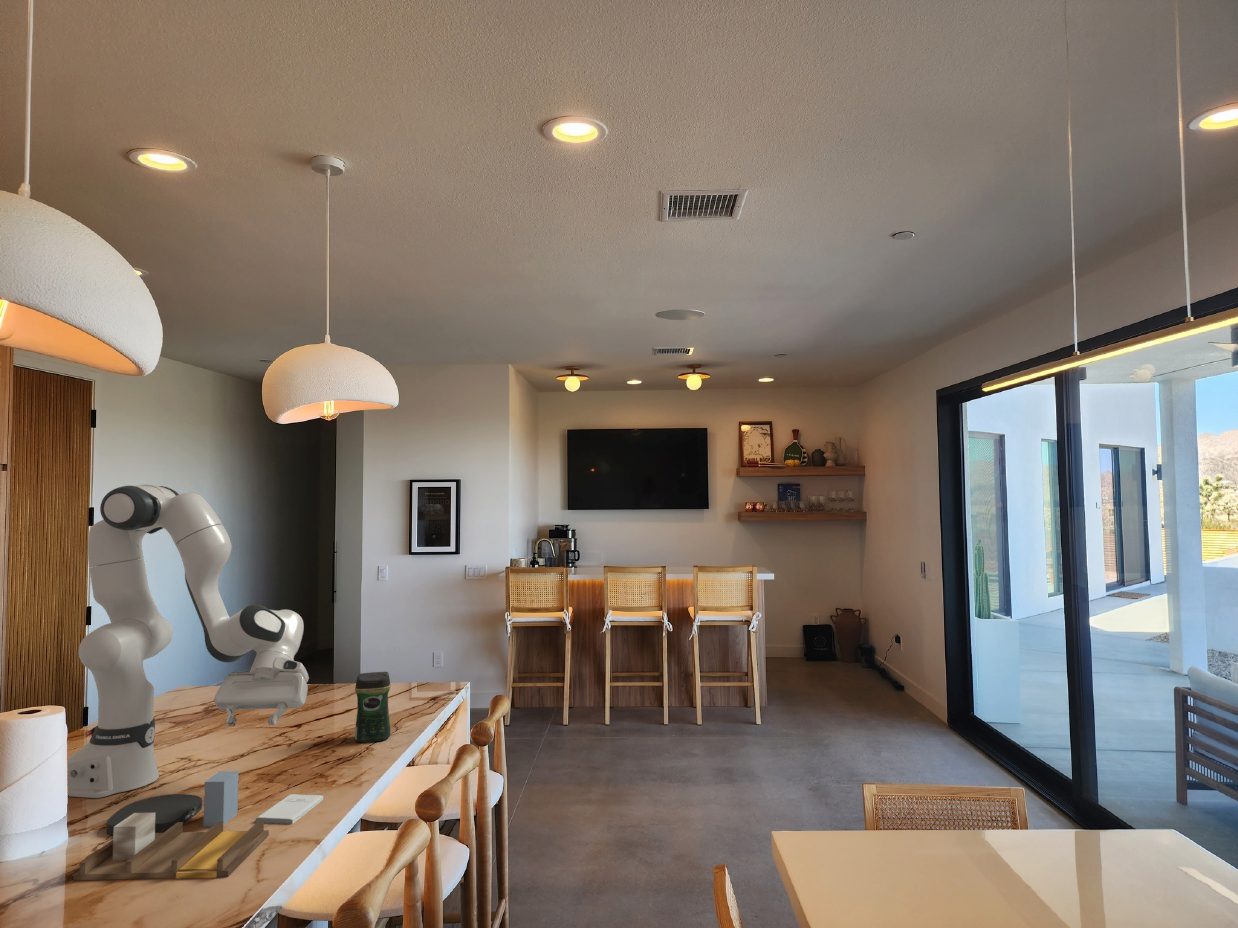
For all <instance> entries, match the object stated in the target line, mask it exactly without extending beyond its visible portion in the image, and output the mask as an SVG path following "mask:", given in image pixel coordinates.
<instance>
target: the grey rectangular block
mask: <svg viewBox="0 0 1238 928" xmlns="http://www.w3.org/2000/svg"><path fill="white" fill-rule="evenodd" d="M203 795H204V797H203V825H202V826H203V827H212V826H213V825H215V824H216V823H217V822H218V821H223V827H224V826H225V825H226V824H227V823H228V822H229V821H231V820H232V819H233V818H234V817H236V816H237V815H238V810H239V809H238V808H239V807H238V803H239V770H229V771H228V770H222V771H218V772H216V773H215V774H214V775H212V776H211V777H209V778H208V779H207V780H206V781H204V792H203Z"/></svg>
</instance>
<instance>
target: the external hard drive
mask: <svg viewBox="0 0 1238 928" xmlns="http://www.w3.org/2000/svg"><path fill="white" fill-rule="evenodd" d="M322 801H324V795H320V794H319V795H318V794H317V795H316V794H298V793H297V794H295V793H293V794H292V793H290V794H289V795H287V796H285V798H283V799H282V800H280V801H279V802H276V803H275V804H274V805H273V806H271V807H270V808H268V809H266V811H264V812H263V813H261V814H260V815H258V816H256V818H255V823H257V822H258V821H259V820H264V824H284V825H293V824H295V822H297V821H298V820H299V819H301V818H302V817H304V816H305V815H306V814H308V813H309V811H311V810H312V809H313V808H315V807H316V806H317V805H319V804H320V803H321V802H322Z"/></svg>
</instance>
